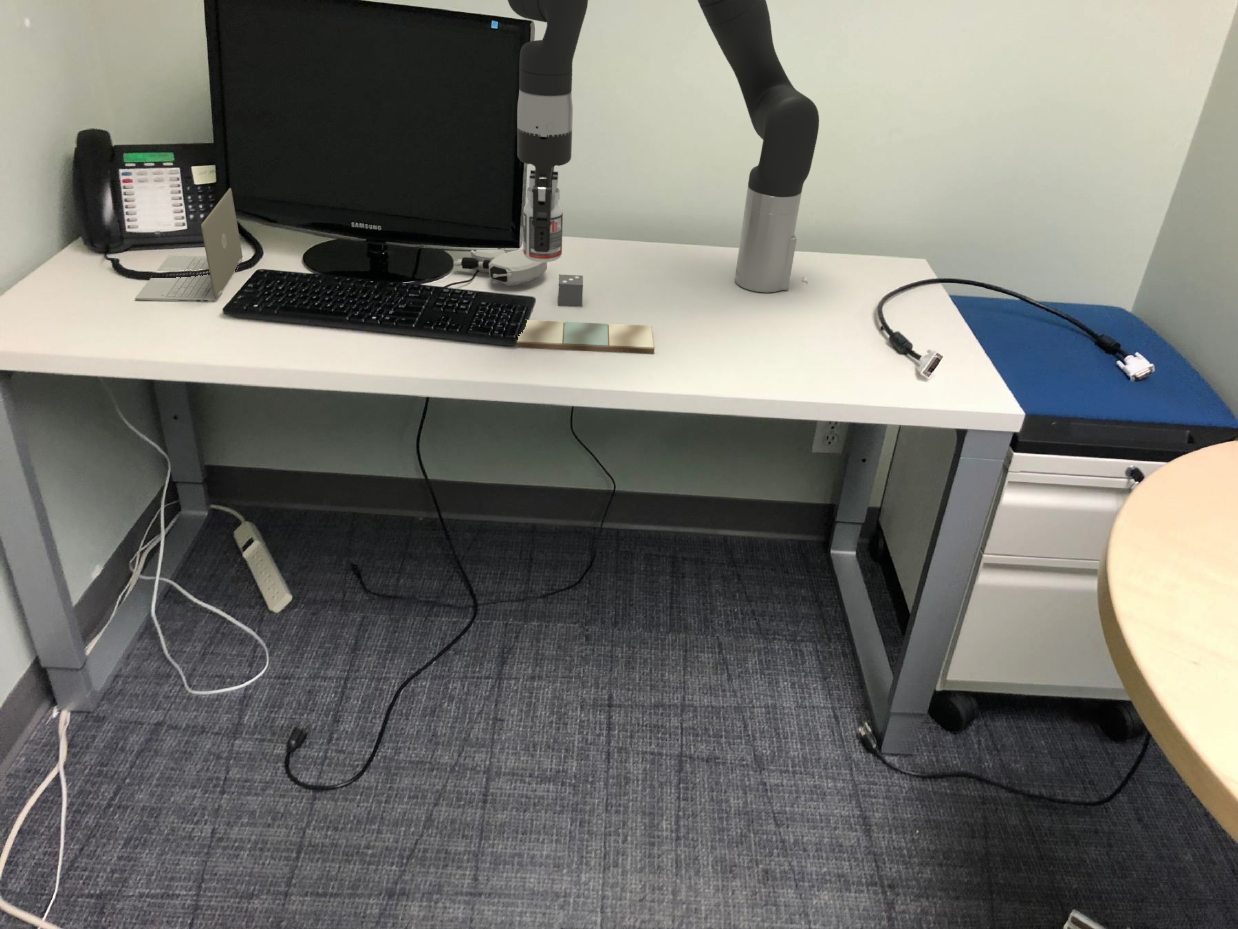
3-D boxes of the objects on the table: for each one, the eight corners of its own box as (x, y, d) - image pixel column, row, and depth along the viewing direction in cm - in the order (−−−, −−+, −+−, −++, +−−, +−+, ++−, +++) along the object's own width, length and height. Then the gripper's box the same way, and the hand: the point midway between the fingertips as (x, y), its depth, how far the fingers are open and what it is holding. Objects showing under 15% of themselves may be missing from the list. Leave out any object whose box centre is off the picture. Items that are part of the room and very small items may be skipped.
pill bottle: (569, 257, 139) (572, 190, 134) (542, 266, 135) (543, 198, 130) (542, 245, 142) (543, 180, 137) (515, 254, 138) (515, 188, 133)
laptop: (169, 259, 163) (153, 184, 155) (244, 261, 164) (232, 187, 157) (135, 302, 148) (115, 222, 140) (218, 304, 149) (203, 224, 142)
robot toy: (449, 278, 165) (514, 297, 158) (447, 253, 163) (512, 271, 155) (496, 260, 174) (559, 276, 166) (495, 236, 171) (559, 251, 164)
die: (581, 297, 160) (582, 275, 157) (581, 307, 156) (582, 284, 154) (558, 296, 159) (559, 274, 157) (557, 306, 156) (558, 283, 154)
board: (651, 330, 150) (651, 325, 150) (654, 353, 144) (654, 347, 143) (519, 324, 149) (519, 319, 148) (516, 347, 142) (516, 341, 142)
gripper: (520, 110, 134) (520, 224, 143) (513, 137, 122) (513, 260, 131) (573, 113, 134) (569, 227, 144) (571, 140, 122) (567, 263, 132)
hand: (542, 242), depth 138 cm, fingers closed on pill bottle, 5 cm apart
